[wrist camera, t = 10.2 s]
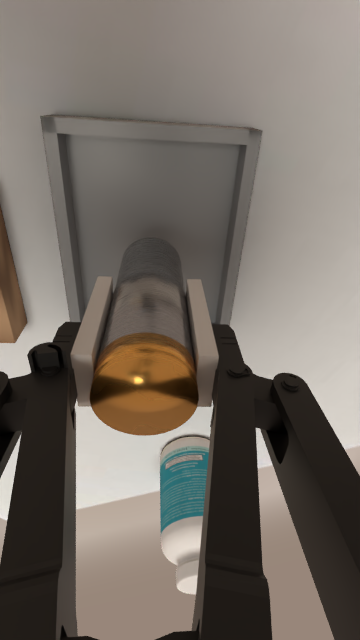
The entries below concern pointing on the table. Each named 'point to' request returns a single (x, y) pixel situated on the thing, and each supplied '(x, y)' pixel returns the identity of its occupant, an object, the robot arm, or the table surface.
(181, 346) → the pin
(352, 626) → the robot arm
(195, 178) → the tray
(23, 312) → the socket block
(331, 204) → the table surface
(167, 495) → the pill bottle
